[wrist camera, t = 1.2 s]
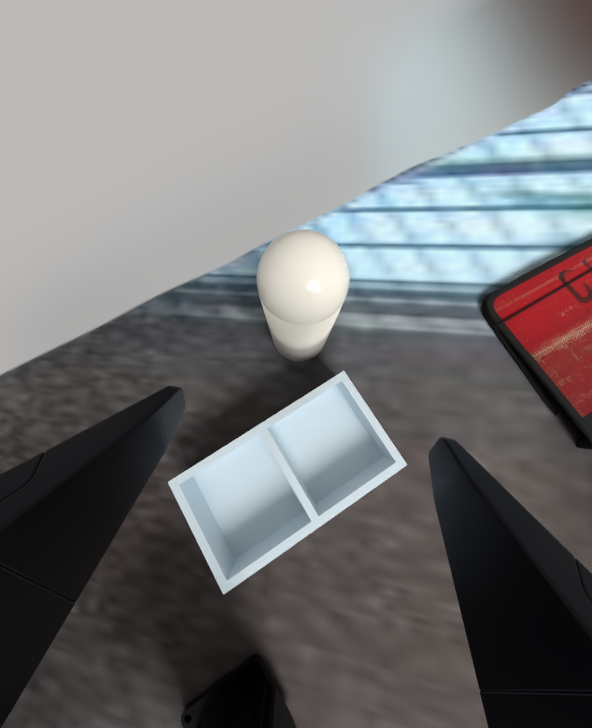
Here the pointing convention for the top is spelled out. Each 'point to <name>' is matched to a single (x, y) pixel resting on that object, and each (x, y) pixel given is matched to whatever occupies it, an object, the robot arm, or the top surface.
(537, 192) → the top surface
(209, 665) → the top surface
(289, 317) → the cream rounded cylinder
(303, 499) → the divided tray
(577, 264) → the binder
